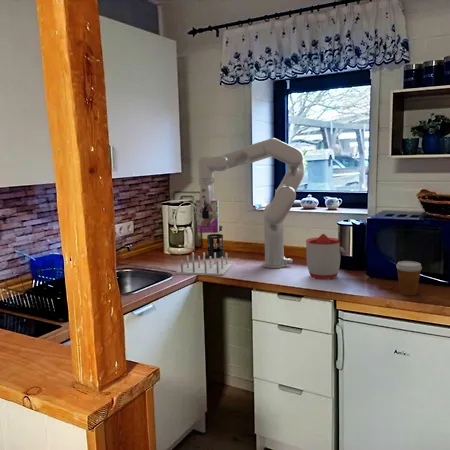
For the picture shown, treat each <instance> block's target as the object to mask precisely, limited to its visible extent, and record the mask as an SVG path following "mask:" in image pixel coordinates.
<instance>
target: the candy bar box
mask: <svg viewBox="0 0 450 450" xmlns="http://www.w3.org/2000/svg"><path fill="white" fill-rule="evenodd" d="M219 202H220V201H219V199H215V200H212V201H211V205H208V211H209V219H203V218H202V206H201V203H200V199H196V200H195V226H196V227H195V228H196V229H195V230H196V231H195V232H196V233H197V234H198V233H201V234H203V233H205V234H206V233H207V234H208V233H211V234H219V232H220V231H219V226H220V213H219V212H220V205H219V204H220V203H219ZM205 204H207V203H205Z"/></svg>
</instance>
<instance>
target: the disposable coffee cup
mask: <svg viewBox="0 0 450 450" xmlns="http://www.w3.org/2000/svg"><path fill="white" fill-rule="evenodd" d="M396 269H397V280H398V285H399V286H398V287H399V293H400V294H401V295H404V296H415V295H417V294H418V288H419V283H420V277H421V272H422V269H423V267H422V264H421V263H420V262H417V261H412V260H411V261H410V260H402V261H398V262H397V264H396Z"/></svg>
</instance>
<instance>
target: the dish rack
mask: <svg viewBox="0 0 450 450" xmlns="http://www.w3.org/2000/svg"><path fill="white" fill-rule="evenodd" d="M224 257H225V259H224ZM208 258H209V259H208V261H209V263H208V262H207V260H206V253H205V252H202V261H203V262H202V263H201V256H200V255H197V262H195V253H194V252H193V251H192V252H191V262H189V260H190V259H189V255H186V264H185V265H184V263H183V262H184V260H183V259H180V268H179V269H178V270H176V271H175V275H191V276H213V277H214V276H216V277H217V276H218V277H224V276H225V275H226V274H227V273H228V272H229V271H230V269H232V268H233V266H234V264H232V263H229V262H228V252H225V254H224V256H223V257H220V263H219V260H217V258H216V253H214V258H213V260H214V261H213V262H214V263H212V258H211V256H209V257H208ZM224 261H225V263H224Z"/></svg>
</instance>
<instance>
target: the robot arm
mask: <svg viewBox="0 0 450 450" xmlns="http://www.w3.org/2000/svg"><path fill="white" fill-rule="evenodd" d="M269 158H273V159H276V160H277V161H279V162H282V163H284V164H285V165H286V166H287V169H286V173H285V174H284V176H283V178H282V180H281V181H280V184H279V185H278V187H277V188H276V190H275V192H274V197H273V199H272V200H271V202H270V203H269V204H267V205H266V206H265V208H264V210H263V224H264V225H263V228H264V229H263V230H264V232H263V233H264V261H263V262H262V263H261V266H262V267H264V268H267V269H281V268H286V267H287V265H288V264H291V263H293V258H287V257H286V255H284V254H285V253H284V252H285V251H284V250H285V249H284V245H285V243H284V220H285V219H286V217H287V215H288V214H289V212H290V210H291V209H292V206H293V205H294V203H295V201H296V198H297V193H296V192H297V190H298V188H299V186H300V184H301V182H302V180H303V178H304V176H305V171H306V169H305V168H306V166H305V161H304V153H303V152H302V151H301V150H300V149H299V148H297V147H295V146H292V145H289V144H288V143H286V142H284V141H281V140H280V139H278V138H275V137H272V138H268V139H265V140H262V141H259V142H256V143H253V144H249V145H246V146H243V147H241V148H240V149H237V150H234V151H231V152H228V153H225V154H221V155H217V156H199V158H198V159H197V160H198V163H197V164H198V165H197V166H198V168H197V169H198V186H200V187H199V200H200V203H201V206H202V218H203V219H209V211H208V205H211V201H212V200H216V199H215V198H216V197H215V186H214V185H215V171H216V172H225V171H226V170H229V169H232V168H236V167H239V166H242V165H248V164H249V165H250V164H252V163H253V164H254V163H255V162H258V161H261V160H265V159H269ZM205 203H207V204H205Z"/></svg>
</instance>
